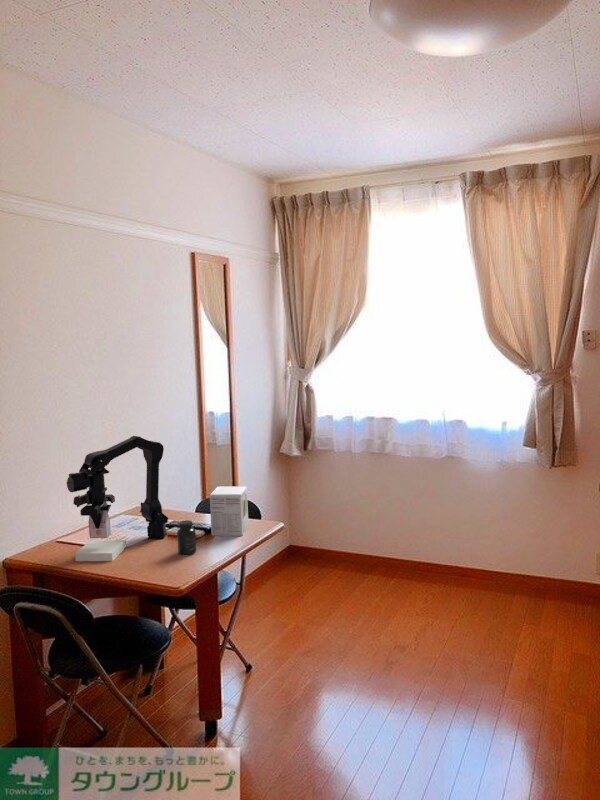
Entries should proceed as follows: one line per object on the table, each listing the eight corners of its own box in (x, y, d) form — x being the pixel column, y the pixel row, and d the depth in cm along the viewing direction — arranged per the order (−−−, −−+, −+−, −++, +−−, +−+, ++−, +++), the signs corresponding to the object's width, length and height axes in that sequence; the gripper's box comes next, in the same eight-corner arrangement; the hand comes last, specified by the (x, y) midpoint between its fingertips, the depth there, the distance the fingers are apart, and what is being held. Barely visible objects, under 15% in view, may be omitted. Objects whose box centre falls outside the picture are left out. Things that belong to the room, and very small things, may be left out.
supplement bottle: (174, 552, 228) (173, 522, 227) (190, 548, 233) (189, 518, 231) (183, 557, 223) (182, 526, 222) (199, 552, 227) (198, 522, 226)
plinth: (125, 547, 236) (125, 540, 235) (112, 561, 222) (112, 553, 221) (91, 547, 237) (90, 540, 236) (75, 561, 223) (75, 553, 222)
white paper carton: (93, 534, 230) (91, 509, 229) (110, 534, 230) (109, 509, 229) (89, 538, 227) (87, 512, 226) (107, 537, 226) (105, 512, 225)
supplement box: (242, 536, 244) (240, 494, 243) (211, 536, 246) (209, 494, 244) (249, 525, 258) (247, 486, 256) (219, 525, 259) (217, 486, 257)
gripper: (86, 480, 236) (89, 519, 238) (64, 493, 217) (68, 535, 219) (114, 480, 235) (116, 518, 237) (94, 493, 217) (98, 535, 219)
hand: (99, 526), depth 228 cm, fingers closed on white paper carton, 4 cm apart
